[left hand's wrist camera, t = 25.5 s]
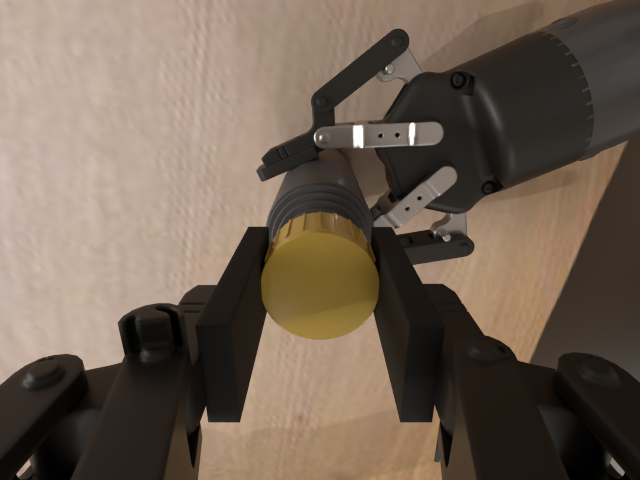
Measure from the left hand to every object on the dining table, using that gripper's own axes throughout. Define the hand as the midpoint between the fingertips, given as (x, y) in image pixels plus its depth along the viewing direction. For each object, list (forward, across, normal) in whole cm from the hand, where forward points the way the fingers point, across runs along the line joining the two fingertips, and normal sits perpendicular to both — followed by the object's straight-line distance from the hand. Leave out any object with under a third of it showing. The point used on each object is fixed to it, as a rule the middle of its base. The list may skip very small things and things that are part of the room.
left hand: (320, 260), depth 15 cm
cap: (-2, 0, 0) cm, 2 cm away
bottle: (+16, 0, 0) cm, 16 cm away
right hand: (+9, -2, -1) cm, 10 cm away
